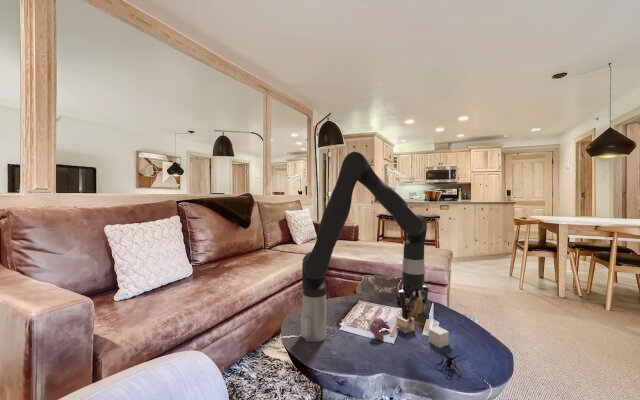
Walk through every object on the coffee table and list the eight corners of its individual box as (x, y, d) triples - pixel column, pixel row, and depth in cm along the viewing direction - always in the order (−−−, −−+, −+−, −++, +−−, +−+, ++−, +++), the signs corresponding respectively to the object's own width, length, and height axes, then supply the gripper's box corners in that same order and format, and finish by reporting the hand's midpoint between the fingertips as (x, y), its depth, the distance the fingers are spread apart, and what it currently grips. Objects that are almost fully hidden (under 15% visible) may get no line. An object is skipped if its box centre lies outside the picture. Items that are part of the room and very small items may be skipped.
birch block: (405, 333, 117) (405, 321, 117) (396, 328, 122) (396, 316, 121) (414, 330, 120) (414, 318, 119) (405, 325, 124) (405, 314, 124)
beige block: (439, 348, 106) (439, 334, 106) (428, 341, 111) (428, 329, 111) (448, 344, 109) (448, 331, 109) (437, 338, 113) (437, 326, 113)
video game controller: (382, 332, 121) (374, 316, 122) (391, 330, 119) (384, 313, 120) (373, 343, 112) (366, 325, 114) (384, 341, 110) (376, 323, 112)
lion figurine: (427, 326, 98) (428, 300, 98) (413, 327, 98) (413, 301, 97) (407, 309, 113) (408, 286, 113) (395, 310, 112) (395, 287, 112)
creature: (460, 384, 88) (463, 365, 95) (461, 370, 87) (463, 351, 93) (433, 376, 92) (437, 358, 99) (433, 361, 91) (437, 345, 97)
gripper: (406, 275, 96) (404, 325, 97) (435, 270, 103) (434, 317, 104) (390, 270, 103) (389, 317, 103) (419, 265, 110) (418, 309, 110)
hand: (411, 317), depth 104 cm, fingers closed on lion figurine, 5 cm apart
